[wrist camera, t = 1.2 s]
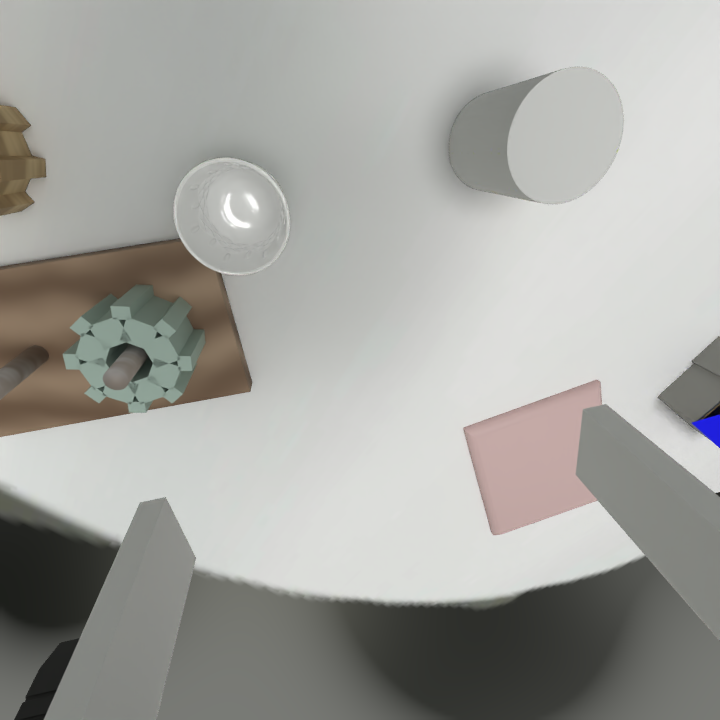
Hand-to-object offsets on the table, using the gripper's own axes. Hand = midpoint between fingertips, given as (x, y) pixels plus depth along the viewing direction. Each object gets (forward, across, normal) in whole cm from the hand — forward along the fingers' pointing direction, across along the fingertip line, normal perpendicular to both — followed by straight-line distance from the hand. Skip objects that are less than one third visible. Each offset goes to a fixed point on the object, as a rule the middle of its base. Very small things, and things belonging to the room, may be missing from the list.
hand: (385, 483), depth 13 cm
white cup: (+32, -6, +6) cm, 33 cm away
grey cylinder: (+32, +17, +8) cm, 37 cm away
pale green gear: (+29, -18, -4) cm, 35 cm away
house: (+32, +46, -25) cm, 62 cm away
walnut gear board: (+31, -23, -4) cm, 39 cm away
